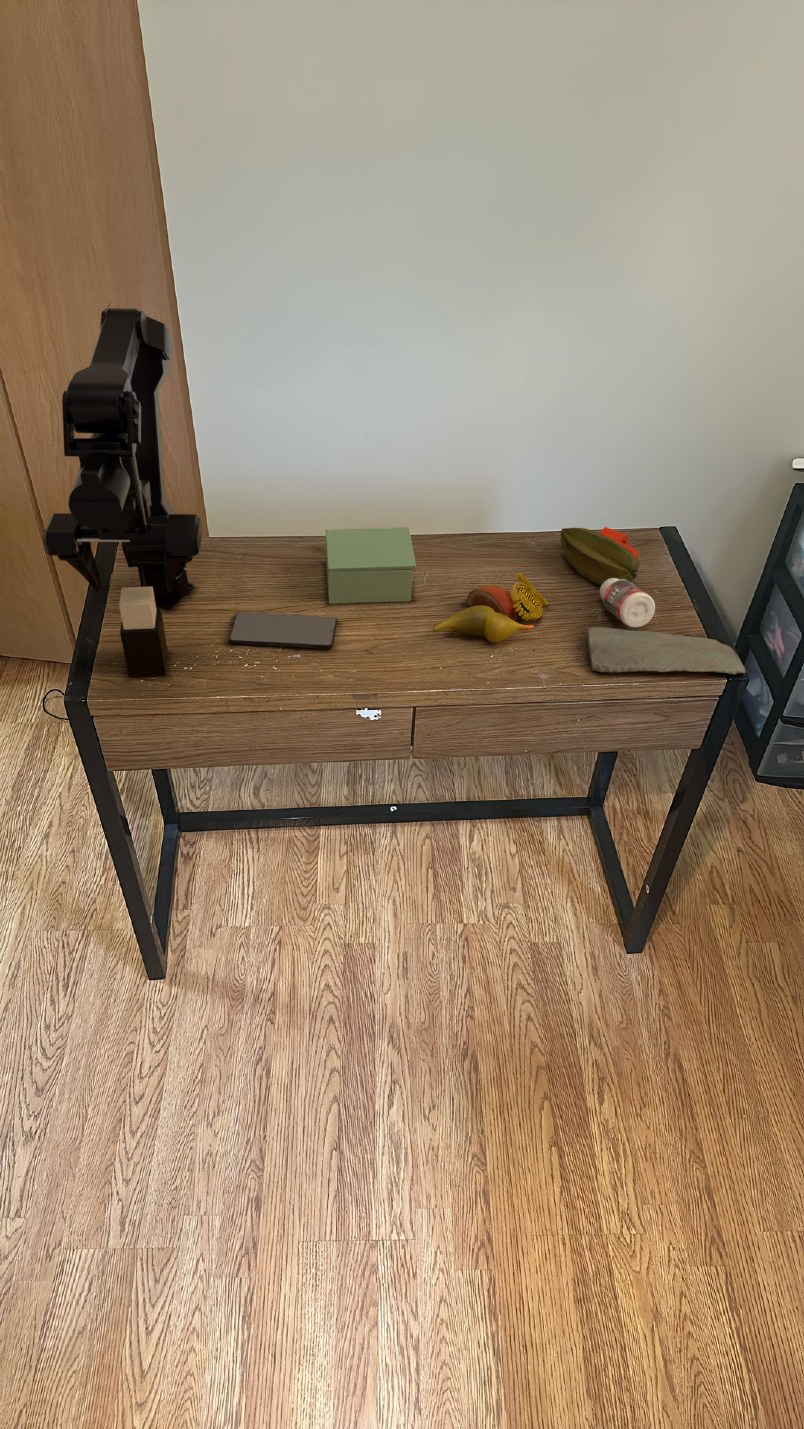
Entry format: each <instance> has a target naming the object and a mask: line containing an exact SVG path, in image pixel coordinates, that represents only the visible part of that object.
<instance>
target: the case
mask: <svg viewBox="0 0 804 1429" xmlns="http://www.w3.org/2000/svg"><path fill="white" fill-rule="evenodd" d="M325 566H326V580H327V593H328V594H327V595H328V604H329V605H330V604H331V605H332V604H363V603H364V604H366V603H396V602H397V603H398V602H399V603H402V602H412V590H413V572H414V569H396V570H367V571H337V572H329V571H328V559H327V545H326V544H325Z"/></svg>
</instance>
